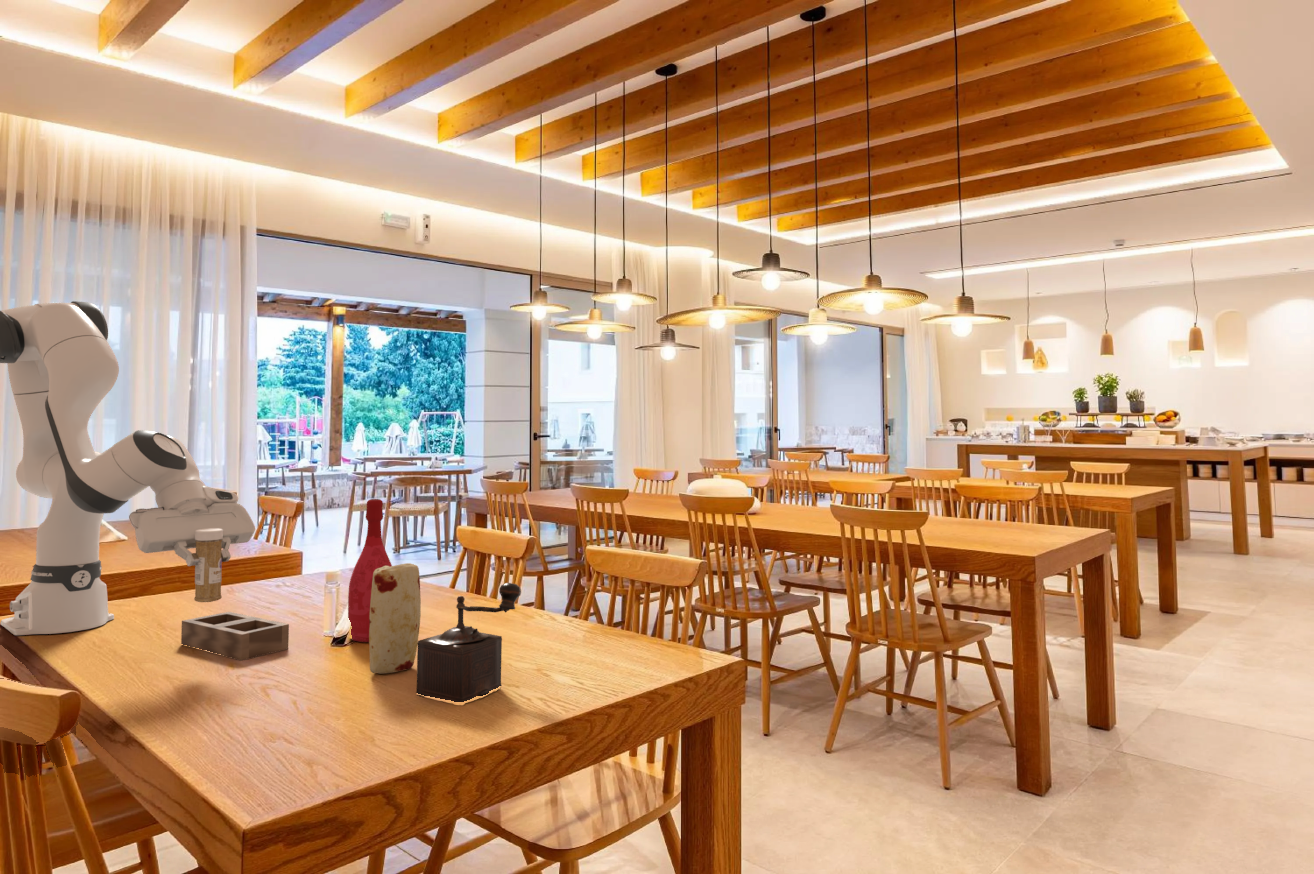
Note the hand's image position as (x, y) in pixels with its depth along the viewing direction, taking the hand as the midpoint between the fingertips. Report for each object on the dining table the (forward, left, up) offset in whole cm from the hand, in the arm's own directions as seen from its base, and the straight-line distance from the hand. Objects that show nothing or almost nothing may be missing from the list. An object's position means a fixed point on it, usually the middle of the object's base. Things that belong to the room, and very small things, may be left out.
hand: (210, 561), depth 146 cm
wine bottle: (+10, +30, -19) cm, 37 cm away
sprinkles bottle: (-1, 0, -8) cm, 8 cm away
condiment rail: (-7, +10, -19) cm, 23 cm away
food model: (+32, +16, -19) cm, 41 cm away
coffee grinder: (+51, +16, -19) cm, 57 cm away
